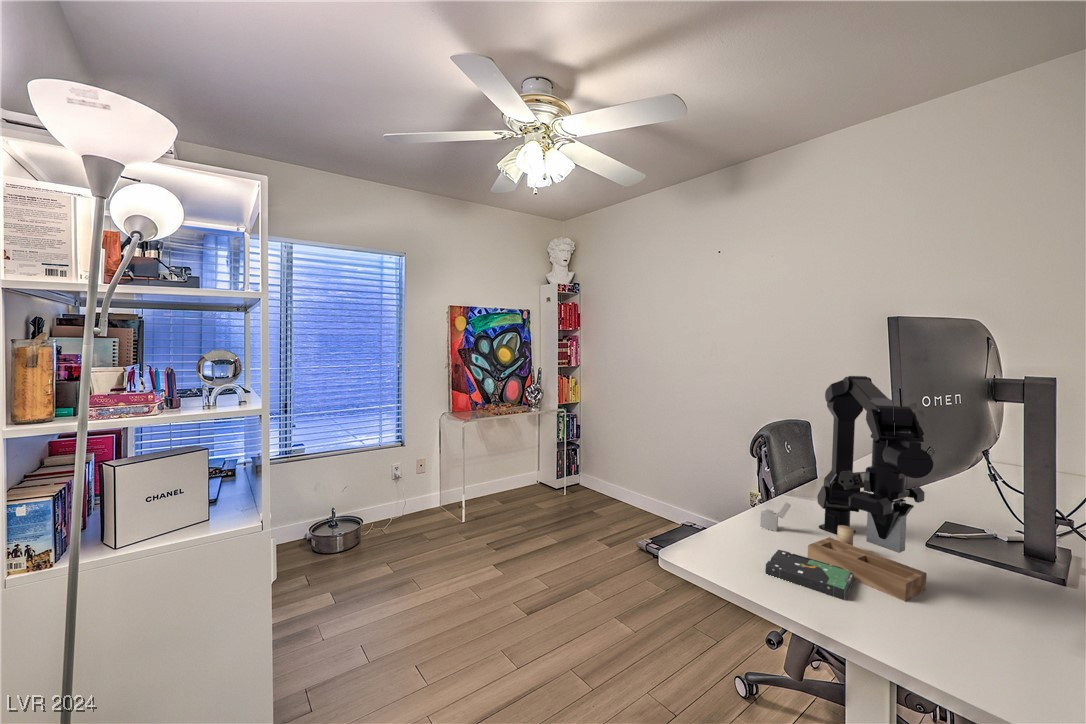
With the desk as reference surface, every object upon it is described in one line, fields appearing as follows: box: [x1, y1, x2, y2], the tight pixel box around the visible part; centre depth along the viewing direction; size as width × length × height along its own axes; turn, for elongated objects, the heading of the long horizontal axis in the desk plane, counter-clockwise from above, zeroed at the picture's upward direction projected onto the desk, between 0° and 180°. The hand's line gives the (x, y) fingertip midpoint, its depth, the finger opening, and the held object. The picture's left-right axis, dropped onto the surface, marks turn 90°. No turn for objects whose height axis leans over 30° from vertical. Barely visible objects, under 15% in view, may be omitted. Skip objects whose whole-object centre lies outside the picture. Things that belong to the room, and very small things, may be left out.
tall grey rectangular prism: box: [866, 512, 908, 554], centre depth 93 cm, size 2×6×8 cm, turn 29°
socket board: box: [807, 536, 928, 602], centre depth 97 cm, size 9×19×4 cm, turn 29°
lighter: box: [759, 501, 792, 532], centre depth 119 cm, size 7×2×8 cm, turn 57°
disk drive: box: [765, 549, 854, 601], centre depth 95 cm, size 10×3×15 cm
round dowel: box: [836, 525, 855, 546], centre depth 107 cm, size 3×3×6 cm
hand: (885, 537), depth 93 cm, fingers closed on tall grey rectangular prism, 2 cm apart
